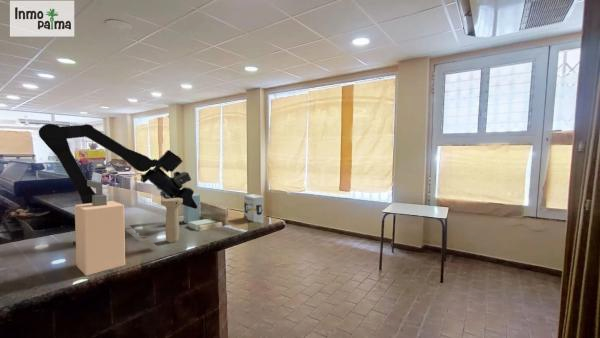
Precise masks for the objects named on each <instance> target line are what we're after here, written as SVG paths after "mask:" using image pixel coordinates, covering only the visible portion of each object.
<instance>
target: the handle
mask: <svg viewBox="0 0 600 338" xmlns="http://www.w3.org/2000/svg"><path fill="white" fill-rule="evenodd" d="M181 203H183V199H182V198H169V199H165V198H163V199H160V204H161V205H162V206H164V207H165V210H166V212H165V213H166V215H165V239H166V242H167V243H176V242H178V240H179V235H180V223H179V222H180V221H179V220H178V217H179V206H180V205H182V204H181Z"/></svg>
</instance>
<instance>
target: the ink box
mask: <svg viewBox="0 0 600 338" xmlns="http://www.w3.org/2000/svg"><path fill="white" fill-rule="evenodd" d="M243 219H245V220H247V221H250V222H253V223H254V222H256V223H260V224H262V223H263V224H264V196H263V195H259V194H256V193H252V194H245V195H243Z"/></svg>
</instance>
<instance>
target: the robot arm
mask: <svg viewBox="0 0 600 338" xmlns="http://www.w3.org/2000/svg"><path fill="white" fill-rule="evenodd" d="M38 136H39V138H40V139H41V140H42V141H43V143H44V144H45V145H46V146H47V147H48V148H49V150H50V151H52V153H54V155H55V156H56V157H57V159H58V160H59V162H60V164H61V166H62V167H63V169H64V171H65V172H66V174H67V176H68V178H69V179H70V181H71V183H72V185H73V186H74V188H75V189H76V192H77V193H78V194H79V196H80V200H81V204H88V203H92V195H96V191H94V190H93V187H89V186H87V178H86V176H85V174H84V173H83V171H82V169H81V166H79V163H78V161H77V160H76V158H75V157H74V155H73V153H72V151H71V147H70V144H69V142H68V140H69V139H70V140H71V139H77V138H87V139H89V140H91V141H92V142H93V143H94V142H95V144H97V145H98V146H101V147H102V148H104V149H106V150H108V151H109V152H111V153H113V154H115V155H116V156H118V157H119V158H120V159H122V160H123V161H124V162H125V163H127V164H128V165H129V166H130V167H132V169H134V170H135V171H139V172H141V173H142V174H140V182H142V183H144V184H145V183H146V182H147V181H149V182H150V183H151V184H153V186H155V187H156V190H158V191H160V193H159V195H160V197H161V198H163V199H169V198H182V199H183V203H181V204H180V205H185V206H188V207H191V208H194V209H196V208H197V205H196V203H195V202H194V200H193V198H192V195H193V194H195V192H194V190H193V189H192V188H191V187H187V186H186V187H185V186H183V185H184V184H186V183H188V182H190V181H192V177H191V176H190V174H189V172H187V171H183V172H179V171H175V170H176V169H177V168H178V167H179V166H180V165H181V164H182V163H183V160H182V158H181V157H180V156H178V155H177V154H175V153H174V152H172V151H171V150H170V149H168V150H166V151H165V152H164V154H162V155H161V156H160V157H159V158H158V159H156V158H154V159H151V158H150V157H149V156H147V155H144V154H142V153H141V152H138V151H134V150H132V149H130V148H128V147H126V146H124V145H122V143H120V142H118V141H116V140H114V139H113V138H112V137H109V135H106V134H105V133H103V132H101V131H100V130H98V129H97V128H96V127H94V126H93V125H92V124H88V123H87V124H81V125H80V124H79V125H66V126H65V125H62V126H60V125H58V124H56V123H47V124H44V125H42V126H41V127H40V128H39V130H38ZM173 171H174V172H173ZM143 172H145V173H144V174H143ZM169 172H170V173H173V176H172V177H170V176H169V174H167V173H169ZM72 244H73V245H76V240H74V241H72Z"/></svg>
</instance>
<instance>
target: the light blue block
mask: <svg viewBox="0 0 600 338" xmlns="http://www.w3.org/2000/svg"><path fill="white" fill-rule="evenodd" d="M192 198H193V200H194V202H195V203H196V205H197V208H196V209H194V208H191V207H188V206H185V205H183V206H182V207H183V216H184V220H183V223H184V224H186V225H187V224H188V225H189V222H192V221H197V220H201V217H200V202H201V195H200V194H197V193H193V195H192Z"/></svg>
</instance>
